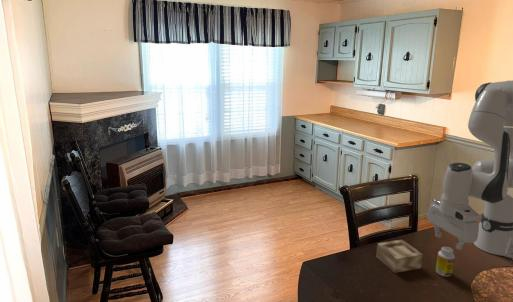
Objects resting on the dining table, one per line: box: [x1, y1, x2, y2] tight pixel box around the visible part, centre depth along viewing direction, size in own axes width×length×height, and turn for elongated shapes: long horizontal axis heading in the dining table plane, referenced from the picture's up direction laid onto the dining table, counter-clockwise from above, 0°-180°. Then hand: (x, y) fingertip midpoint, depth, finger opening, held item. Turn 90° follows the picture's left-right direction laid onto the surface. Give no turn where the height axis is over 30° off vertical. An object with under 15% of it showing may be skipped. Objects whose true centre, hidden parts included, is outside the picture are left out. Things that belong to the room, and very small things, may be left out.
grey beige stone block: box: [375, 239, 424, 274], centre depth 141 cm, size 12×12×6 cm
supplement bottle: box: [435, 246, 456, 277], centre depth 133 cm, size 6×6×10 cm
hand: (447, 242), depth 131 cm, fingers open, 8 cm apart
